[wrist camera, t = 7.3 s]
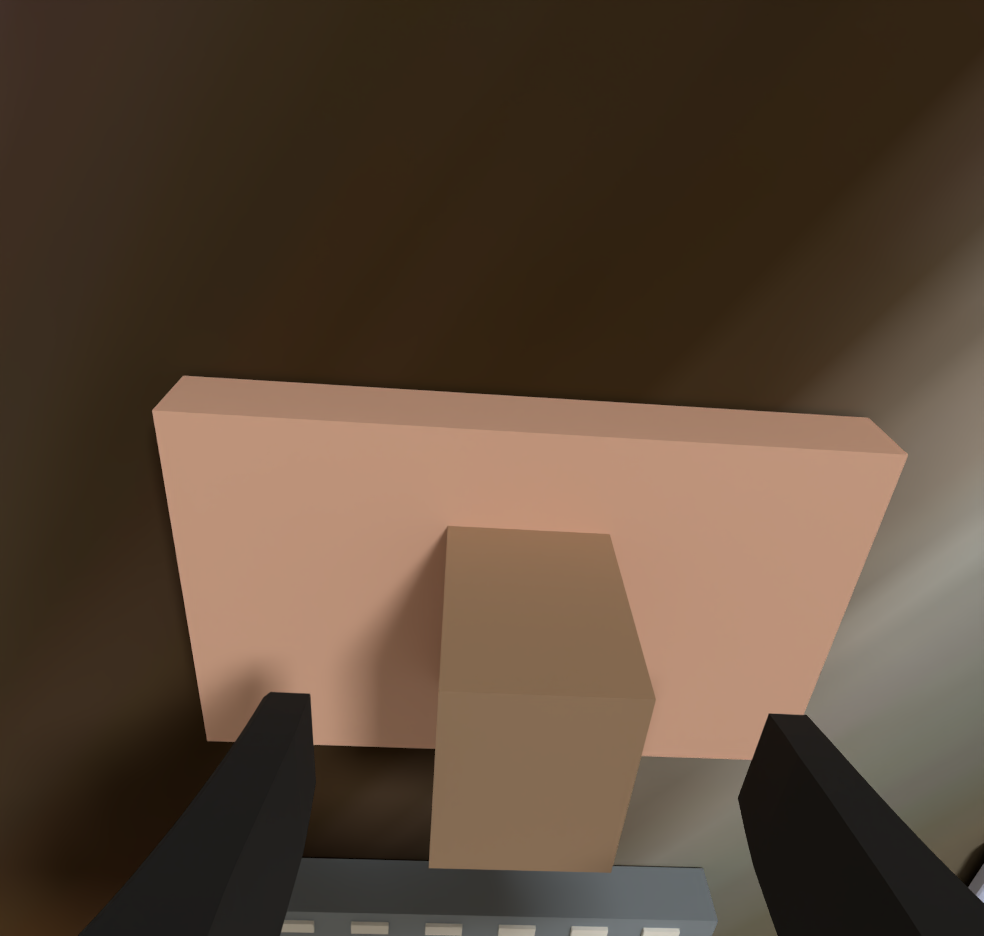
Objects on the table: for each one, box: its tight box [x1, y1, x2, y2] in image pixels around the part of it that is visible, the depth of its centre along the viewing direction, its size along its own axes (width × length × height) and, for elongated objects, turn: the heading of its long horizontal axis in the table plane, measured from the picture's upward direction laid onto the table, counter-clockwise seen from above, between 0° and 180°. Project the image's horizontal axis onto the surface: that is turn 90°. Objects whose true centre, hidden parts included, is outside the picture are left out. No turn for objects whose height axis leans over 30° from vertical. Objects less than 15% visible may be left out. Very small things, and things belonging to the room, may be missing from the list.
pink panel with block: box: [152, 376, 908, 873], centre depth 13 cm, size 13×8×6 cm, turn 86°
